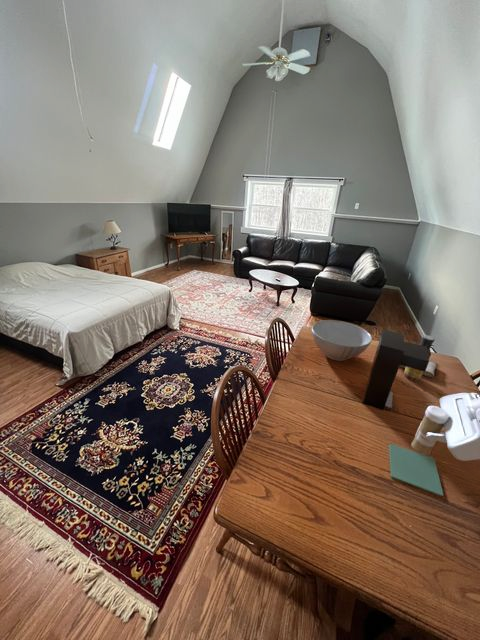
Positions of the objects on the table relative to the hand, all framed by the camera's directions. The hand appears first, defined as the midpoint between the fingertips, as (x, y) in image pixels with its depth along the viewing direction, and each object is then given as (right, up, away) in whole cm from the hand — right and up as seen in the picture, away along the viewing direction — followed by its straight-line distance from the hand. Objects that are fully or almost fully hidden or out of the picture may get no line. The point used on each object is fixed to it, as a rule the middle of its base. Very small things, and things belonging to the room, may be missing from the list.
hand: (426, 429), depth 70 cm
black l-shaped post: (+6, -1, +31) cm, 32 cm away
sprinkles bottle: (0, -6, +3) cm, 7 cm away
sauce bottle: (+25, +4, +45) cm, 52 cm away
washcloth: (+31, +8, +54) cm, 63 cm away
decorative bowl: (-2, +12, +60) cm, 61 cm away
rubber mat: (0, -13, +5) cm, 14 cm away
